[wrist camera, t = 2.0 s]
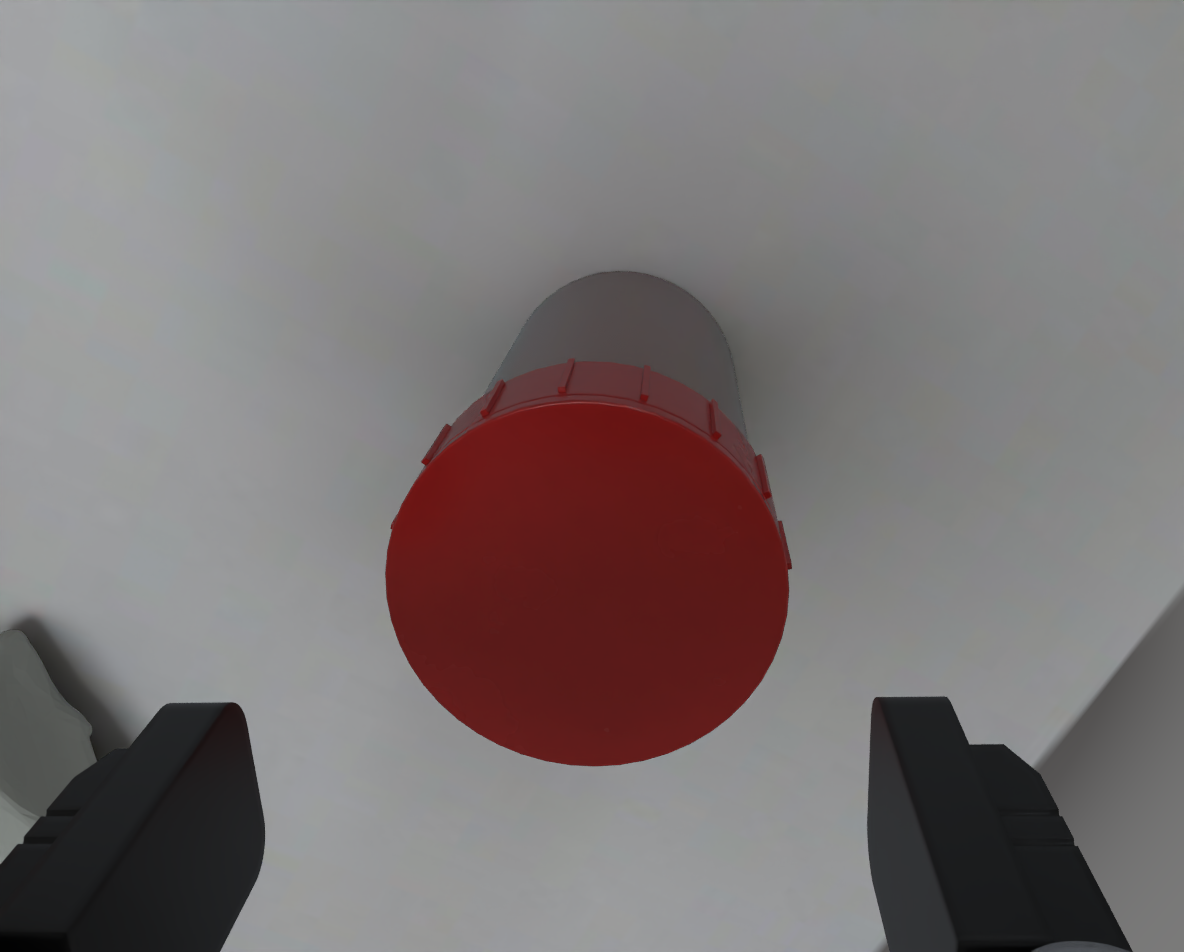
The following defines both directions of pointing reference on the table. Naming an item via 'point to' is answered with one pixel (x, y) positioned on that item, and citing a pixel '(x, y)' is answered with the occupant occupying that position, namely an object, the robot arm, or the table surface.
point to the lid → (590, 566)
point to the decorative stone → (34, 740)
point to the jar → (630, 335)
